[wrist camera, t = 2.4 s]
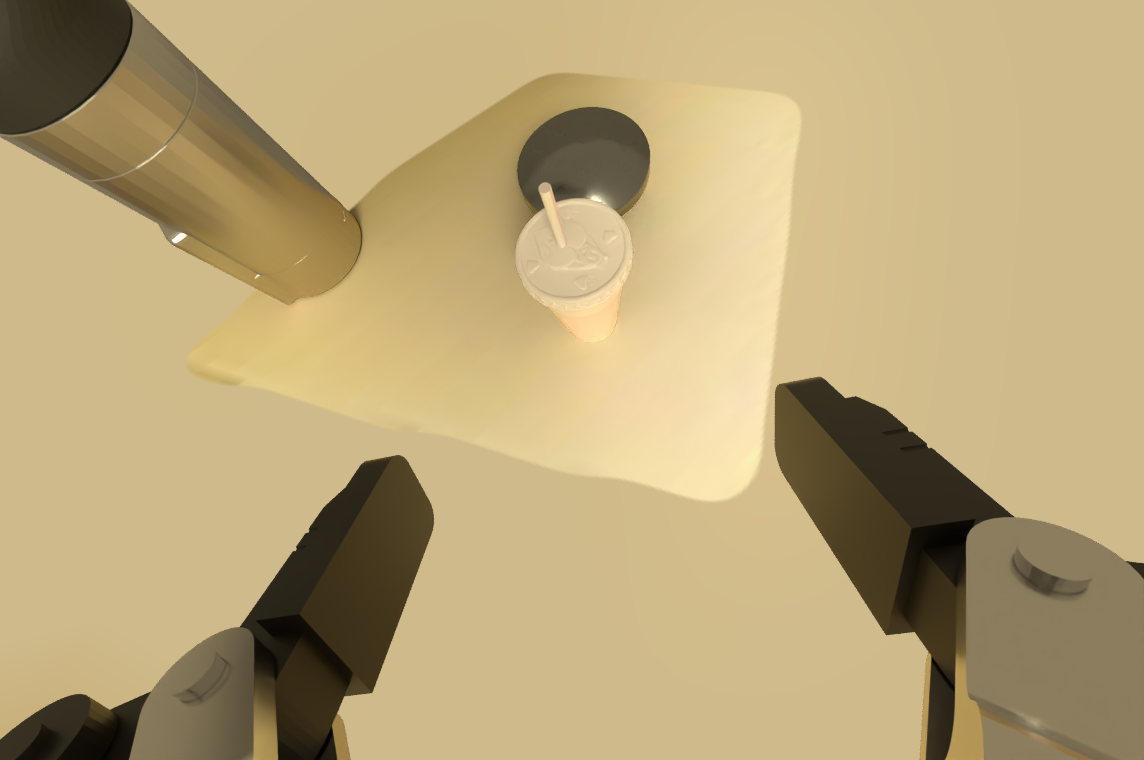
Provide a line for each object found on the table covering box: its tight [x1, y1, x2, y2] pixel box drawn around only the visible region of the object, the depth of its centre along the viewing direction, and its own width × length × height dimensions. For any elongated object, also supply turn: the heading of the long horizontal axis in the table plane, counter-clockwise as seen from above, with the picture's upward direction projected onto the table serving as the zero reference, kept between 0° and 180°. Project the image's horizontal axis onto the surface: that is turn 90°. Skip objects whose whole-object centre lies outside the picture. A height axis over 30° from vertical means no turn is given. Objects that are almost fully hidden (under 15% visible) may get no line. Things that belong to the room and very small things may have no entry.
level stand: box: [517, 107, 650, 216], centre depth 33 cm, size 10×10×3 cm
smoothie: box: [515, 183, 633, 343], centre depth 24 cm, size 6×6×14 cm
